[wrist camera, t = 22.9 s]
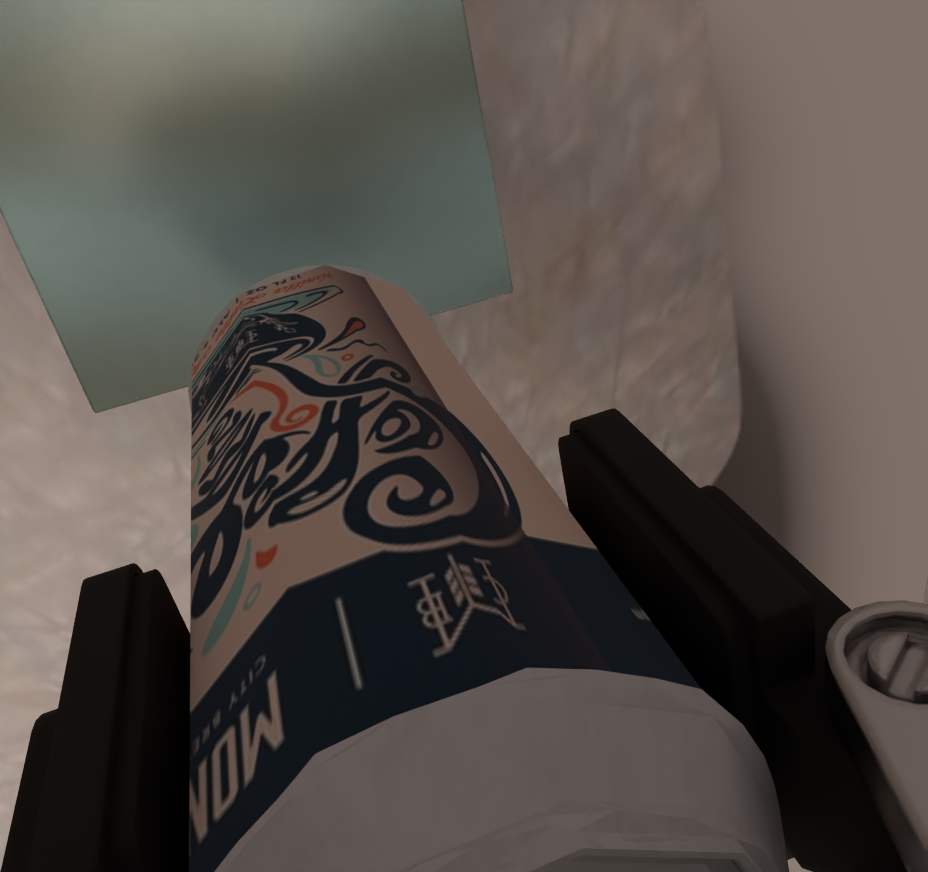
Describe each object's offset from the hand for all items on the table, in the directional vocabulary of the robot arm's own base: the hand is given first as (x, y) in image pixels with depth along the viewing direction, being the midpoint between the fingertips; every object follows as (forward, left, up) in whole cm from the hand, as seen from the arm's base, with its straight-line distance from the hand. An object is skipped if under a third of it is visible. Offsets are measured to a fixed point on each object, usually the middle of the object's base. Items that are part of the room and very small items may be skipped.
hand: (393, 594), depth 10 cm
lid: (0, -4, -16) cm, 17 cm away
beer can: (0, 0, -7) cm, 7 cm away
